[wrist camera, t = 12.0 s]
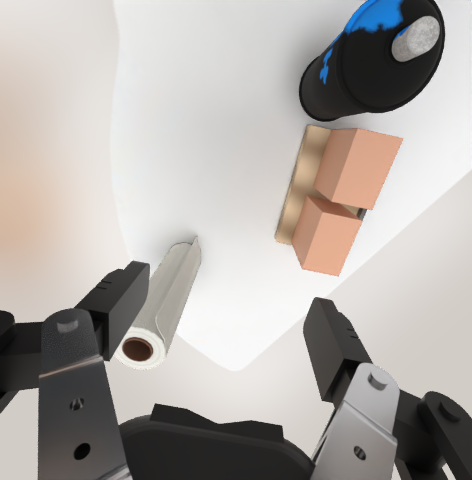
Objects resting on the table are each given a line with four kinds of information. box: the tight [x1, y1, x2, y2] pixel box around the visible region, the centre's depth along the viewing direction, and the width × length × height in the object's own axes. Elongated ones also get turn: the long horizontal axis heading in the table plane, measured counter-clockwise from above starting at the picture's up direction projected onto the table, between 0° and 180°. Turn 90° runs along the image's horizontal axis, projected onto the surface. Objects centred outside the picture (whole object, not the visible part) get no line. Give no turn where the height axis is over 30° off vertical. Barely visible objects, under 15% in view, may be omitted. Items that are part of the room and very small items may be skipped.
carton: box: [291, 195, 362, 276], centre depth 35 cm, size 8×5×9 cm, turn 169°
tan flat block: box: [275, 125, 367, 245], centre depth 38 cm, size 18×12×3 cm, turn 169°
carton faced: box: [313, 128, 403, 210], centre depth 32 cm, size 8×5×9 cm, turn 169°
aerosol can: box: [299, 0, 445, 122], centre depth 25 cm, size 8×8×20 cm
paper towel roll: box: [113, 236, 201, 370], centre depth 35 cm, size 7×6×21 cm
